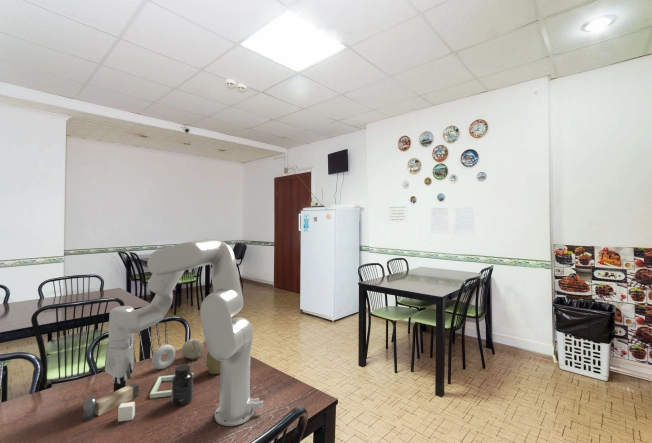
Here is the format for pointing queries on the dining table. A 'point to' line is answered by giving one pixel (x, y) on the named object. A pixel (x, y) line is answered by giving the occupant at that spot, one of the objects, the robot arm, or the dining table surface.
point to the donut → (159, 352)
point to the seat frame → (161, 378)
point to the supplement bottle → (182, 386)
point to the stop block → (126, 411)
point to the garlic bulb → (192, 349)
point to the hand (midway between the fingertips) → (119, 392)
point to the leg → (116, 399)
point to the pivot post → (89, 409)
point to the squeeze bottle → (213, 365)
